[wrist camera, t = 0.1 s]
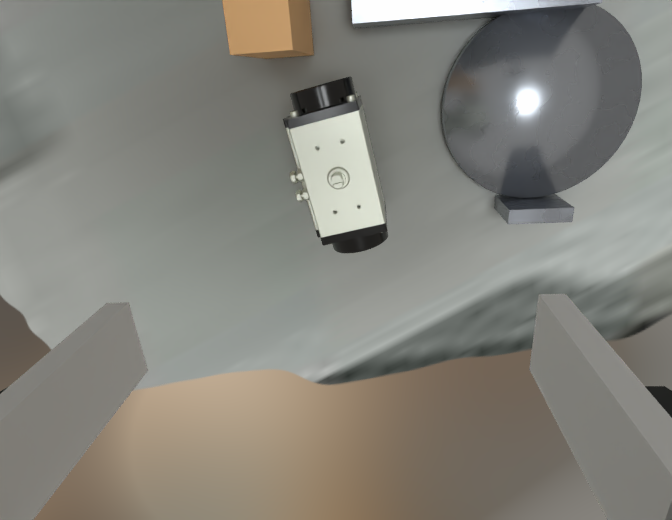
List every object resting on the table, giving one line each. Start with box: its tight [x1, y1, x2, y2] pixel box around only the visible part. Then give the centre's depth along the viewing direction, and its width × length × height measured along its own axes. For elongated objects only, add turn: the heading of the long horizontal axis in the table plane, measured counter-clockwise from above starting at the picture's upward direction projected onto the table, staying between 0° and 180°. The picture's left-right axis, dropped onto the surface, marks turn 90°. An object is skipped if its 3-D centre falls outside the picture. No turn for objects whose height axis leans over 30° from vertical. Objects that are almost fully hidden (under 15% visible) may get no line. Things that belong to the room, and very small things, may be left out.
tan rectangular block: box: [222, 0, 314, 59], centre depth 31 cm, size 4×4×10 cm
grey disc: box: [441, 5, 642, 224], centre depth 34 cm, size 18×15×4 cm
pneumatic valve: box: [283, 77, 388, 253], centre depth 34 cm, size 6×12×12 cm, turn 15°
